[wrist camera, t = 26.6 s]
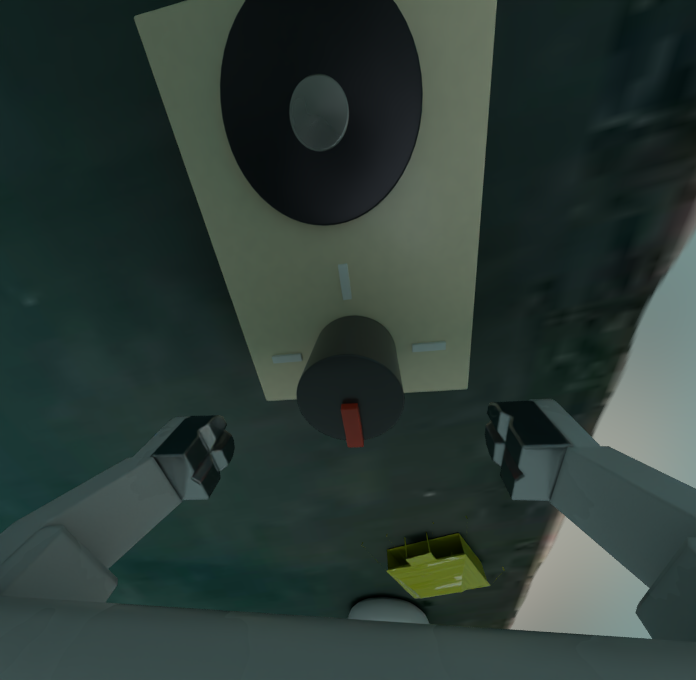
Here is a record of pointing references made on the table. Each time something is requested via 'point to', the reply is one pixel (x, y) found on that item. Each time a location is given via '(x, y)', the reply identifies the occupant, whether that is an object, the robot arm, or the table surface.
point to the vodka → (387, 611)
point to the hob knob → (352, 381)
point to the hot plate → (356, 235)
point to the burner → (321, 103)
